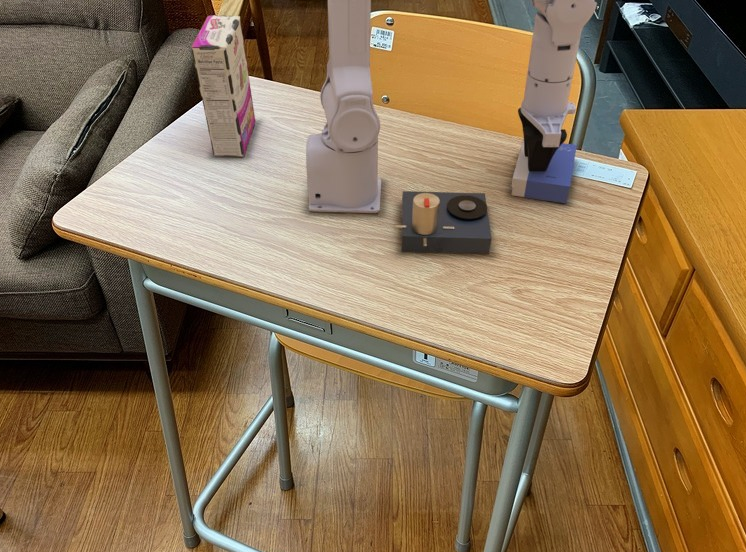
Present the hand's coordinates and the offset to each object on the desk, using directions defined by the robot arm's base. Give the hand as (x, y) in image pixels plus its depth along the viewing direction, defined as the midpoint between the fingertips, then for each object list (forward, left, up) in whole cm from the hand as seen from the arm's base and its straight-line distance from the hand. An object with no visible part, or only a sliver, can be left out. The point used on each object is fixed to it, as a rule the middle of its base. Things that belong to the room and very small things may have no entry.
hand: (534, 167), depth 94 cm
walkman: (0, -5, -1) cm, 5 cm away
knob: (-16, -16, 0) cm, 22 cm away
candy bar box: (-45, +9, -2) cm, 46 cm away
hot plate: (-14, -14, -2) cm, 19 cm away
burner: (-10, -12, 0) cm, 16 cm away
